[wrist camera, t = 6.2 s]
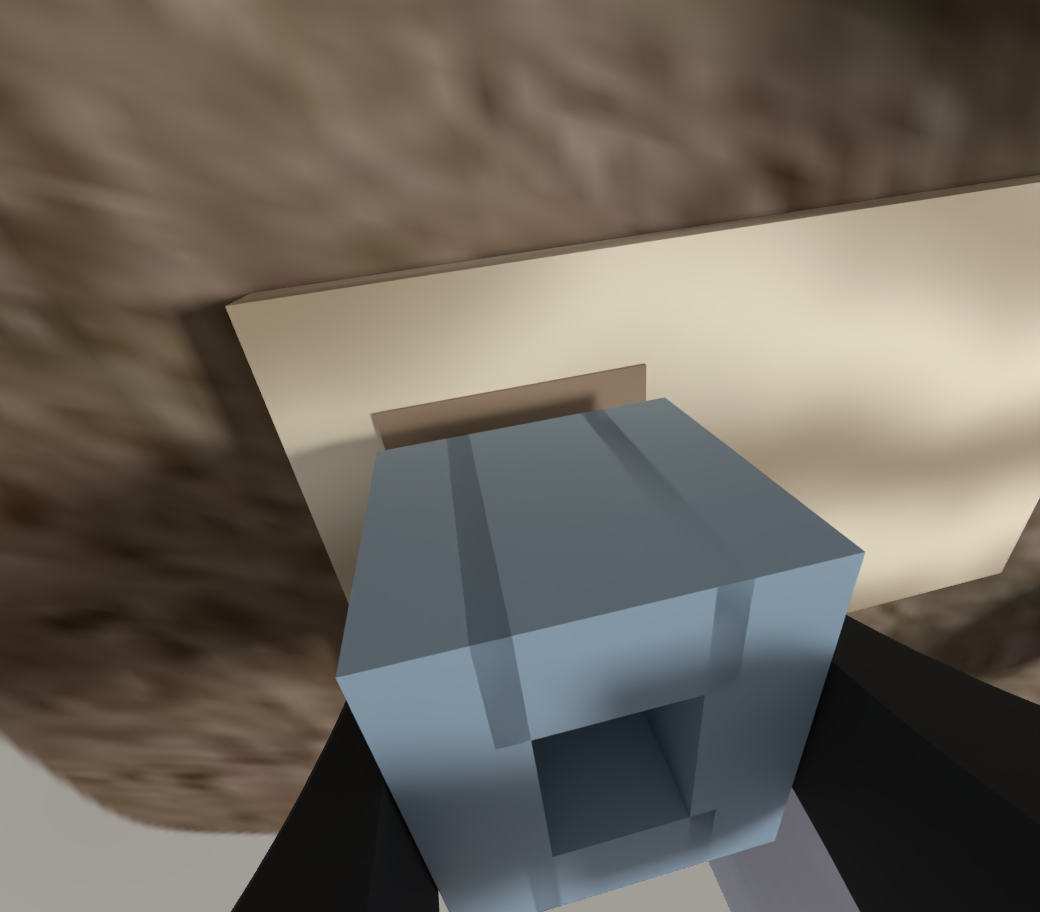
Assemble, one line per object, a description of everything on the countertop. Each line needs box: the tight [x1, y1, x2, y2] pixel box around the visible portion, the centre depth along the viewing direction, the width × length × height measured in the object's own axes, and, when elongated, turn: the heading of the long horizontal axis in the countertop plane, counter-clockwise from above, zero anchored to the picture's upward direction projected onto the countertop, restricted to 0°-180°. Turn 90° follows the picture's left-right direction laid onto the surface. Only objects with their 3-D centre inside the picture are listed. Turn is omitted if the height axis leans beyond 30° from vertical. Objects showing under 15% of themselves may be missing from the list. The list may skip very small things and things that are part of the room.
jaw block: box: [336, 397, 865, 912], centre depth 9 cm, size 7×6×5 cm
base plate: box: [225, 175, 1040, 613], centre depth 12 cm, size 13×22×6 cm, turn 97°
